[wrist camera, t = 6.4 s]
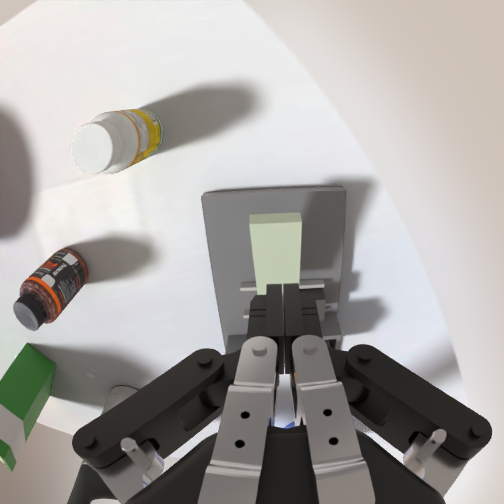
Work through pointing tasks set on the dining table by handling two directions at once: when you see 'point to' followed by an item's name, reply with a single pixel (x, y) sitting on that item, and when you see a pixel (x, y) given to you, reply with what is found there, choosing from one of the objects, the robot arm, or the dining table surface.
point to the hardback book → (22, 400)
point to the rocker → (276, 248)
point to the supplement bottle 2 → (116, 141)
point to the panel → (241, 257)
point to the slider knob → (317, 299)
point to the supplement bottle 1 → (50, 289)
